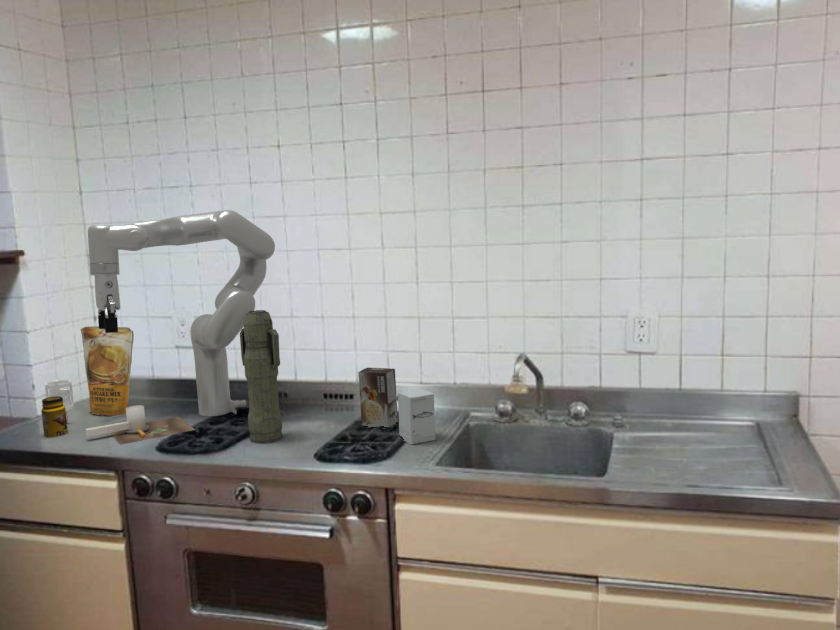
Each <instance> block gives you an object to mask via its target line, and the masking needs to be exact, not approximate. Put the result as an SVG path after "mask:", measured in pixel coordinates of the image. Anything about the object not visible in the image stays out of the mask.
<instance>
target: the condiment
mask: <svg viewBox="0 0 840 630" xmlns="http://www.w3.org/2000/svg"><path fill="white" fill-rule="evenodd" d="M41 403H42V405H41V407H42V408H41V419H42V428H43V435H44V438H57V437H61V436H65V435H68V431H69V430H68V424H67V419H66V411H65V406H64V405H63V398H62V397H60V396H54V397H48V398H46V397H44V398H43V399H41Z"/></svg>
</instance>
